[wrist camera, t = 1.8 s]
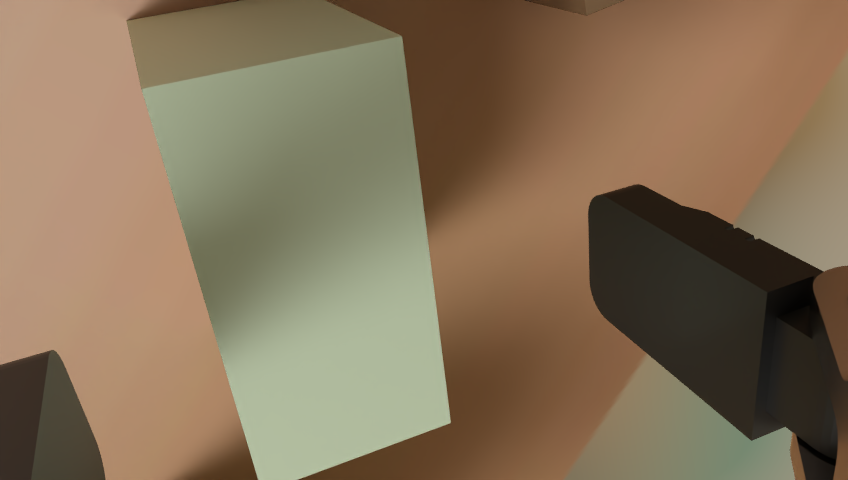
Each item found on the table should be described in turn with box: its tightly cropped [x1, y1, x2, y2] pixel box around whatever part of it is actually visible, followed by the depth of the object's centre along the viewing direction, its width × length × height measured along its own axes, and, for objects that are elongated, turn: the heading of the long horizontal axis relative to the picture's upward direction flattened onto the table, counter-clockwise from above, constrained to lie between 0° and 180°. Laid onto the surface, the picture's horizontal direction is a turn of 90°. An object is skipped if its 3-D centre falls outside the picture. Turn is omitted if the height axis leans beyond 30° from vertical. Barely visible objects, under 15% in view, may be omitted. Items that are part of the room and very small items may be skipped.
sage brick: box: [127, 0, 451, 480], centre depth 14 cm, size 7×4×6 cm, turn 6°
